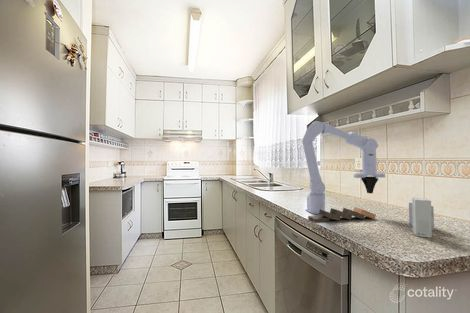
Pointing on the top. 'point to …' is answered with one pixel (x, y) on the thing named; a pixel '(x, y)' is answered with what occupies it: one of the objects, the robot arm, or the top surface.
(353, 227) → the top surface
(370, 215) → the peach block
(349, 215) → the dark tile
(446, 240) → the top surface
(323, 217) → the dark tile
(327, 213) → the dark tile
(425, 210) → the skincare box
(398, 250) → the top surface
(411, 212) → the medicine box
